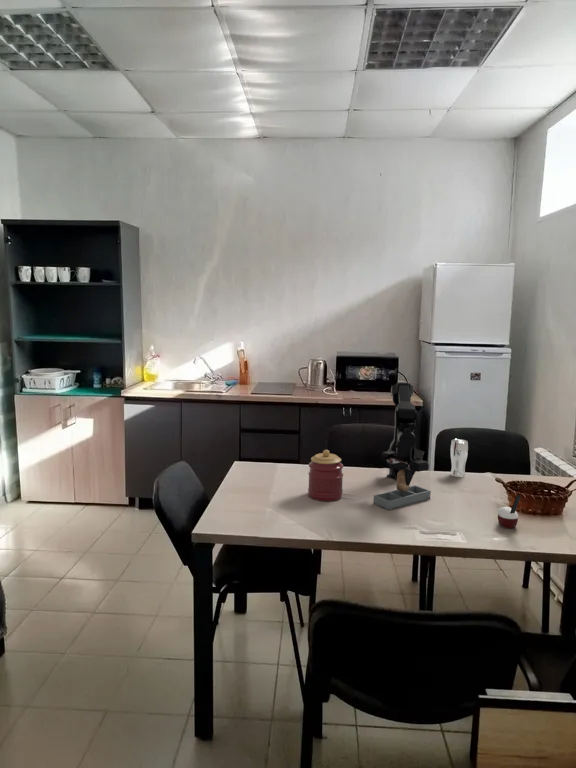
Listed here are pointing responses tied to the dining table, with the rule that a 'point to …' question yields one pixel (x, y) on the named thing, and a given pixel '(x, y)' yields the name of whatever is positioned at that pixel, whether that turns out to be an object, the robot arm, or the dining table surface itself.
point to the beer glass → (458, 457)
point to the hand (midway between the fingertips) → (402, 483)
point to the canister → (325, 477)
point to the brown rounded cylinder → (401, 481)
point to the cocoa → (509, 514)
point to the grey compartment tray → (401, 497)
